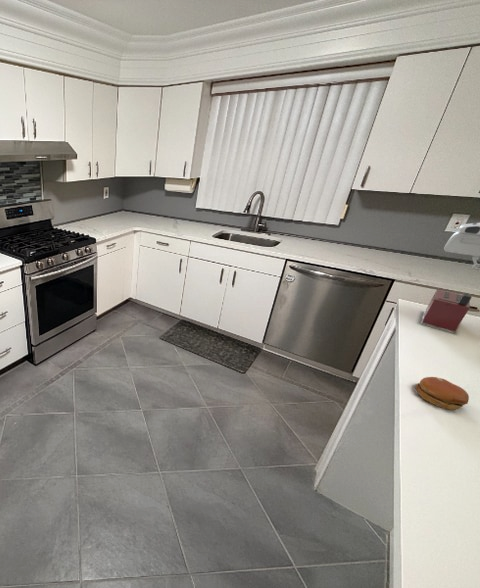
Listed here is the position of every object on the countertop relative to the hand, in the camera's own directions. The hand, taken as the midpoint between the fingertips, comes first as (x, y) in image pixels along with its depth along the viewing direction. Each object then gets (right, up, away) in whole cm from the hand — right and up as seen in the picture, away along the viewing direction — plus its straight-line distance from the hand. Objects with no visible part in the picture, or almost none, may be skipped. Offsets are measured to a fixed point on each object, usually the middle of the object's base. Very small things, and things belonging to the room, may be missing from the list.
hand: (478, 269), depth 107 cm
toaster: (+5, -20, +16) cm, 26 cm away
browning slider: (+3, -12, +7) cm, 14 cm away
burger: (-40, -38, -22) cm, 59 cm away
